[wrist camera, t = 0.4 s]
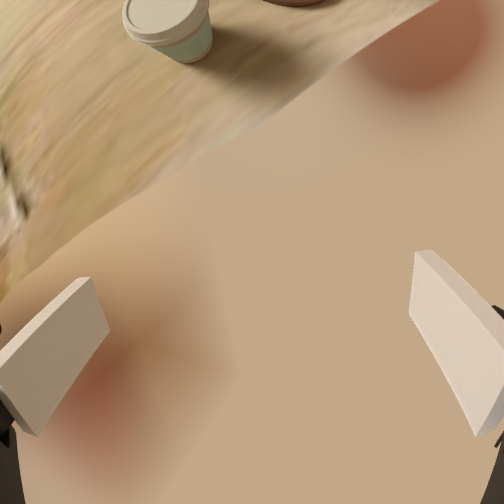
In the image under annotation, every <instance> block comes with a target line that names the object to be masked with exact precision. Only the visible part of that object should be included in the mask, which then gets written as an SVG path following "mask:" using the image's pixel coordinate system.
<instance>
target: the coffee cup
mask: <svg viewBox="0 0 504 504" xmlns="http://www.w3.org/2000/svg"><path fill="white" fill-rule="evenodd" d="M208 8H209V0H126V1H125V3H124V6H123V10H122V16H123V23H124V27H125V29H126V31H127V33H128V34H129V36H130V37H131V38H132V39H133V40H134V41H136V42H138V43H140V44H143V45H147V46H151V47H152V48H154V49H156V50H158V51H159V52H161V53H163V54H165V55H166V56H168V57H170V58H172V59H173V60H175V61H177V62H180V63H193V62H196V61H199V60H201V59H202V58H204V57H205V56H206V55H207V54H208V53H209V51H210V50H211V48H212V45H213V35H212V29H211V24H210V18H209V12H208Z"/></svg>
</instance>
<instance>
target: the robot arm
mask: <svg viewBox="0 0 504 504" xmlns="http://www.w3.org/2000/svg"><path fill="white" fill-rule="evenodd" d="M408 314H409V315H410V317H411V318H412V320H413V322H414V323H415V325H416V326H417V328H418V330H419V331H420V333H421V335H422V337H423V338H424V340H425V342H426V343H427V345H428V347H429V348H430V350H431V352H432V354H433V356H434V357H435V359H436V361H437V363H438V364H439V366H440V368H441V370H442V372H443V373H444V375H445V377H446V379H447V381H448V383H449V384H450V386H451V388H452V390H453V392H454V394H455V396H456V398H457V400H458V402H459V404H460V406H461V408H462V410H463V412H464V414H465V416H466V418H467V420H468V422H469V424H470V426H471V428H472V431H473V433H474V435H475V437H476V436H479V435H481V434H484V433H487V432H490V431H492V430H494V429H496V428H497V426H498V424H499V423H500V421H501V420H502V418H503V416H504V310H502V309H500V308H499V307H497V306H495V305H494V306H490V305H489V304H488V303H487V302H486V301H485V300H484V298H483V297H481V296H480V294H479V293H478V292H477V291H476V290H474V288H472V287H471V286H470V285H469V284H468V283H467V282H466V281H465V280H464V279H463V278H462V277H461V276H460V275H459V274H458V273H457V272H456V271H455V270H453V268H452V267H451V266H449V265H448V264H447V263H446V262H445V261H444V260H443V259H442V258H441V257H440V256H438V255H437V254H436V253H435V252H434V251H433V250H425V251H415V259H414V271H413V281H412V290H411V297H410V306H409V313H408ZM109 331H110V329H109V327H108V324H107V322H106V319H105V316H104V313H103V311H102V308H101V306H100V302H99V299H98V296H97V293H96V290H95V287H94V284H93V281H92V278H91V277H81V278H77V279H76V280H75V281H74V282H72V283H71V284H70V285H69V286H68V287H67V288H66V289H65V290H64V291H62V292H61V293H60V294H59V295H58V296H57V297H56V298H55V299H54V300H52V301H51V302H50V303H49V304H48V305H47V306H46V307H45V308H44V309H43V310H42V311H40V312H39V313H38V314H37V315H36V316H35V317H34V318H33V319H32V320H31V321H30V322H29V323H28V324H27V325H26V326H25V327H24V328H23V329H22V330H21V331H20V332H19V333H18V334H17V335H16V336H15V337H14V338H13V339H12V340H11V341H10V342H9V343H8V344H7V345H6V346H5V347H4V348H3V349H2V350H1V351H0V504H25V499H24V494H23V488H22V482H21V476H20V469H19V460H18V451H17V440H16V432H15V429H14V428H13V427H12V425H11V424H12V423H13V421H14V420H15V421H16V422H17V424H18V425H19V426H20V427H21V429H22V430H23V431H24V432H26V433H29V434H31V435H34V436H37V437H38V435H39V434H40V432H41V430H42V429H43V427H44V426H45V424H46V422H47V421H48V420H49V418H50V416H51V415H52V413H53V412H54V410H55V409H56V407H57V406H58V404H59V403H60V401H61V400H62V398H63V396H64V395H65V394H66V392H67V391H68V389H69V388H70V386H71V385H72V383H73V382H74V380H75V379H76V378H77V376H78V375H79V373H80V372H81V370H82V369H83V367H84V366H85V364H86V363H87V362H88V360H89V359H90V358H91V356H92V355H93V353H94V352H95V350H96V349H97V348H98V346H99V345H100V344H101V342H102V341H103V339H104V338H105V337H106V335H107V334H108V333H109ZM501 441H502V442H501ZM500 442H501V446H500V449H499V452H498V456H497V459H496V462H495V465H494V468H493V471H492V474H491V477H490V480H489V482H488V485H487V488H486V491H485V493H484V496H483V498H482V500H481V503H480V504H504V431H503V433H502V434H501V436H500V437H499V439H498V440H497V442H496V444H495V446H494V447H496V448H497V447H498V445H499V444H500Z"/></svg>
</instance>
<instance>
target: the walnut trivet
mask: <svg viewBox="0 0 504 504" xmlns="http://www.w3.org/2000/svg"><path fill="white" fill-rule="evenodd" d="M264 1H267V2H269V3H273V4H277V5H282V6H290V7H300V6H309V5H314V4H318V3H320V2H323V1H325V0H264Z"/></svg>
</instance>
